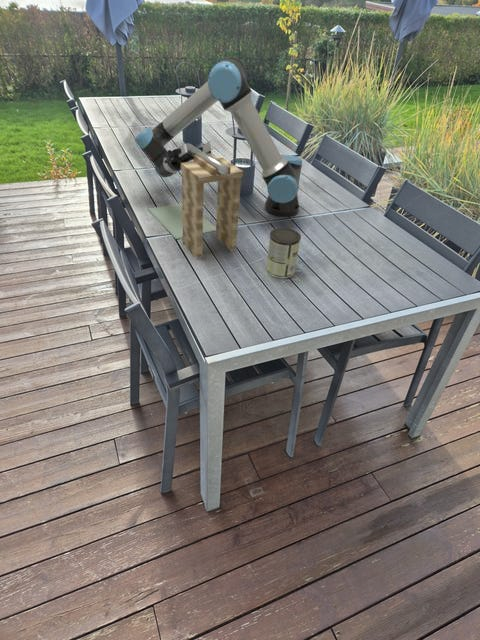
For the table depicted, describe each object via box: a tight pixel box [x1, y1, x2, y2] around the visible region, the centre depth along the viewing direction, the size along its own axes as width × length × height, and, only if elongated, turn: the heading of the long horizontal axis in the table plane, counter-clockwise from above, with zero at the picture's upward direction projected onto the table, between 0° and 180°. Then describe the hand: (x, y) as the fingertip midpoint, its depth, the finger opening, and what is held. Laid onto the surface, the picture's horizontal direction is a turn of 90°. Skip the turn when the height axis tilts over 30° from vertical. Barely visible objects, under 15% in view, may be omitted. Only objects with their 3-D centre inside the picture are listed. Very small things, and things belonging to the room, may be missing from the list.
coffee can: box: [265, 227, 302, 279], centre depth 150 cm, size 10×10×14 cm
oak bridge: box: [180, 152, 244, 260], centre depth 153 cm, size 14×16×32 cm
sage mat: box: [148, 202, 216, 240], centre depth 179 cm, size 28×18×1 cm, turn 31°
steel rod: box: [185, 142, 228, 175], centre depth 146 cm, size 24×3×3 cm, turn 34°
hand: (198, 146), depth 149 cm, fingers open, 9 cm apart
